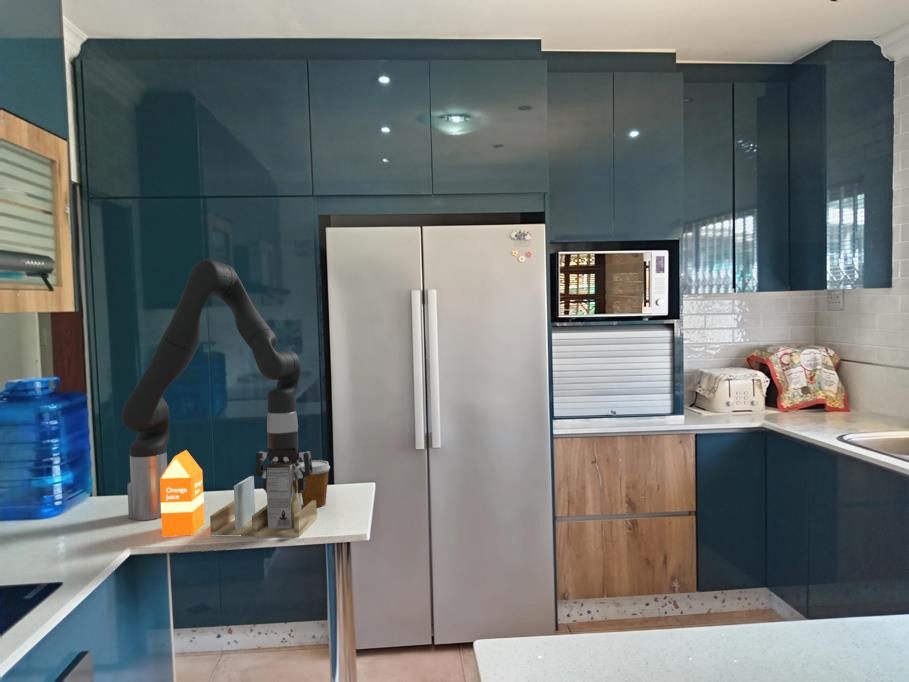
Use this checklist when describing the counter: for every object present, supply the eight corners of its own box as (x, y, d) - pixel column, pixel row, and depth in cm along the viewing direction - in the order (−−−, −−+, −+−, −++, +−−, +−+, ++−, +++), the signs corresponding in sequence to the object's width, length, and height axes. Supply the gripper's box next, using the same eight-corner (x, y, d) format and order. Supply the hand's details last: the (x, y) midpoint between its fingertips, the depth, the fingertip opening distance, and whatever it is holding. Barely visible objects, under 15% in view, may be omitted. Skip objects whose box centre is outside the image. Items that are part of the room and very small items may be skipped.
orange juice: (204, 524, 170) (202, 448, 169) (193, 535, 161) (190, 456, 160) (174, 525, 169) (171, 450, 169) (161, 537, 160) (158, 457, 160)
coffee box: (278, 518, 170) (276, 457, 170) (302, 517, 170) (300, 457, 170) (267, 529, 161) (265, 465, 161) (292, 529, 161) (290, 465, 160)
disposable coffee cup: (327, 509, 181) (326, 467, 180) (293, 510, 181) (292, 467, 180) (334, 500, 190) (333, 459, 190) (302, 500, 190) (300, 460, 190)
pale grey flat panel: (235, 529, 162) (233, 486, 161) (251, 517, 172) (250, 476, 171) (239, 529, 162) (237, 486, 161) (255, 517, 172) (253, 476, 171)
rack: (210, 535, 160) (210, 516, 160) (235, 518, 174) (234, 500, 174) (299, 536, 158) (298, 516, 158) (316, 519, 172) (316, 500, 172)
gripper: (249, 432, 162) (251, 496, 162) (305, 431, 160) (307, 496, 161) (261, 427, 169) (263, 488, 170) (314, 426, 168) (316, 488, 168)
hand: (284, 492), depth 165 cm, fingers open, 8 cm apart
